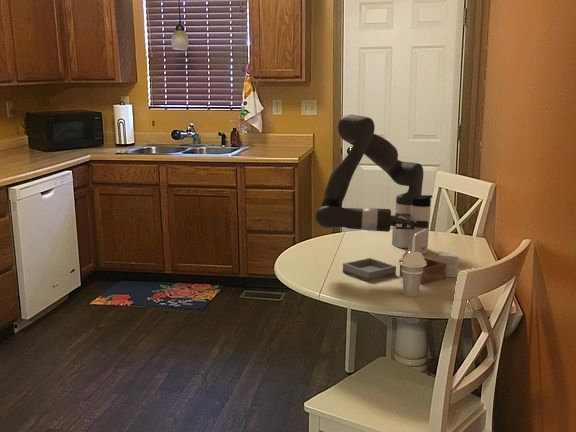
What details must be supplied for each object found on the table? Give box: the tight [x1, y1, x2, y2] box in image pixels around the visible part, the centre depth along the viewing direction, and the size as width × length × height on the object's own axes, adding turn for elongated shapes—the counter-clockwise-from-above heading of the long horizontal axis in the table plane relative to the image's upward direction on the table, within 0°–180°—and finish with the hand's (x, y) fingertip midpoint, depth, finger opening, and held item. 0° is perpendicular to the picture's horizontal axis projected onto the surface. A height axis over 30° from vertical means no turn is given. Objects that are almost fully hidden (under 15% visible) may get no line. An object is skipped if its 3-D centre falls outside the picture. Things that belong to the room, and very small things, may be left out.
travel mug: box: [407, 194, 433, 257], centre depth 206 cm, size 6×7×20 cm
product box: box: [438, 250, 459, 278], centre depth 212 cm, size 6×6×7 cm
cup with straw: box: [397, 229, 427, 298], centre depth 190 cm, size 8×9×20 cm
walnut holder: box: [399, 256, 446, 285], centre depth 209 cm, size 11×11×5 cm
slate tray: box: [342, 257, 397, 282], centre depth 212 cm, size 13×13×3 cm
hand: (427, 222), depth 206 cm, fingers closed on travel mug, 6 cm apart
